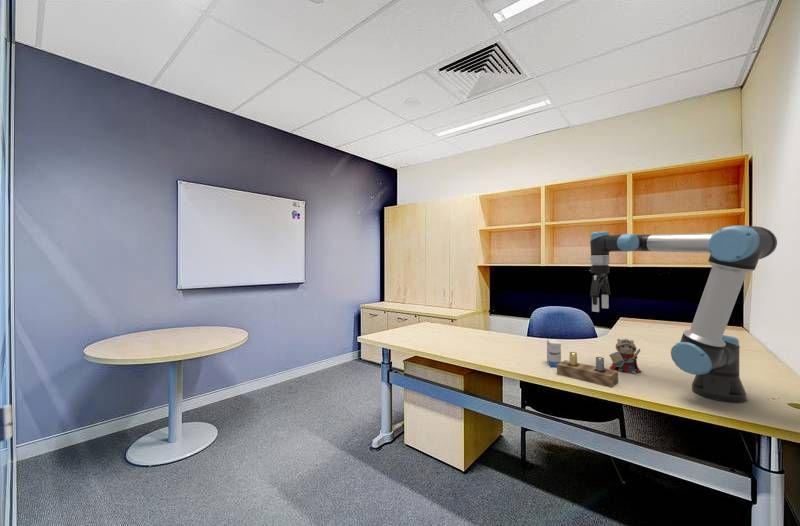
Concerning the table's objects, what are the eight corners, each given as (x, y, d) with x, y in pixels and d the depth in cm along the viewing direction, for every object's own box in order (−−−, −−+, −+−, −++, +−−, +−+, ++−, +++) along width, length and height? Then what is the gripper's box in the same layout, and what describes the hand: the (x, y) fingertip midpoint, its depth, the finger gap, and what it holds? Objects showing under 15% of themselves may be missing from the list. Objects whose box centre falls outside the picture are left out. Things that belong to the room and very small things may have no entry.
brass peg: (578, 374, 152) (578, 352, 152) (575, 376, 150) (575, 354, 150) (571, 373, 154) (571, 351, 154) (568, 374, 152) (568, 352, 152)
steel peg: (605, 380, 144) (604, 357, 144) (602, 382, 142) (602, 359, 142) (597, 379, 146) (597, 356, 146) (595, 380, 144) (594, 357, 144)
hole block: (618, 381, 143) (618, 371, 142) (611, 387, 137) (611, 376, 137) (565, 369, 159) (565, 360, 159) (557, 374, 153) (556, 364, 153)
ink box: (561, 367, 162) (561, 343, 162) (550, 367, 163) (550, 343, 163) (557, 362, 170) (556, 339, 170) (546, 361, 171) (546, 339, 171)
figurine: (606, 371, 156) (606, 339, 156) (611, 365, 164) (611, 334, 164) (640, 377, 147) (640, 343, 147) (644, 370, 155) (643, 338, 155)
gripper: (599, 264, 167) (600, 306, 168) (581, 265, 150) (582, 312, 151) (617, 264, 162) (617, 307, 162) (600, 265, 145) (600, 314, 145)
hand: (600, 309), depth 156 cm, fingers open, 13 cm apart
